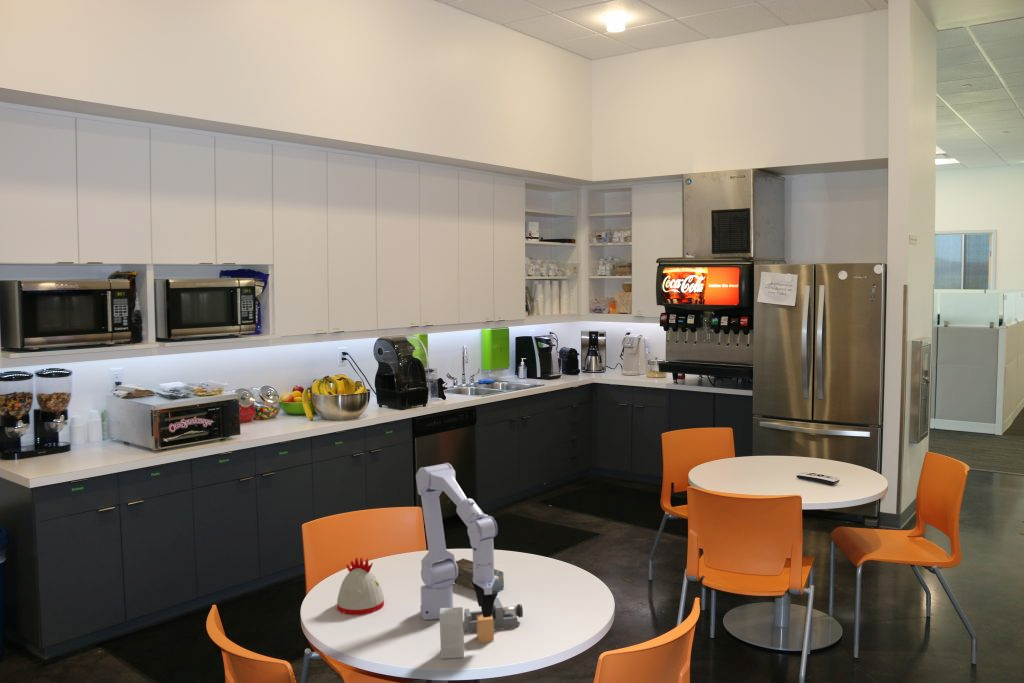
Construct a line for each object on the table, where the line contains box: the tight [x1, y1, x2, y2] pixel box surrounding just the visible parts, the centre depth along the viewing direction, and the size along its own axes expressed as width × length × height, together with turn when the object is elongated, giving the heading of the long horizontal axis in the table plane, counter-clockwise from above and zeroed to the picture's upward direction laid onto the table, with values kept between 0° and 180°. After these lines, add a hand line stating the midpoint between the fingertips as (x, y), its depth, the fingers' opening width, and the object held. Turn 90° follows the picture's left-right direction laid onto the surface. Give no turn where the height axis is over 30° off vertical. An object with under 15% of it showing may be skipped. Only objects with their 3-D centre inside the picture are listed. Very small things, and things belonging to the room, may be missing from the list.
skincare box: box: [439, 606, 465, 660], centre depth 220 cm, size 6×4×12 cm
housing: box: [463, 597, 519, 633], centre depth 239 cm, size 14×8×6 cm, turn 101°
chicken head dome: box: [336, 557, 385, 616], centre depth 254 cm, size 14×14×15 cm
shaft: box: [503, 603, 524, 618], centre depth 240 cm, size 7×4×4 cm, turn 101°
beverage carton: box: [454, 557, 505, 592], centre depth 270 cm, size 8×19×7 cm, turn 46°
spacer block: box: [476, 614, 495, 643], centre depth 230 cm, size 4×4×6 cm
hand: (484, 611), depth 229 cm, fingers open, 7 cm apart
